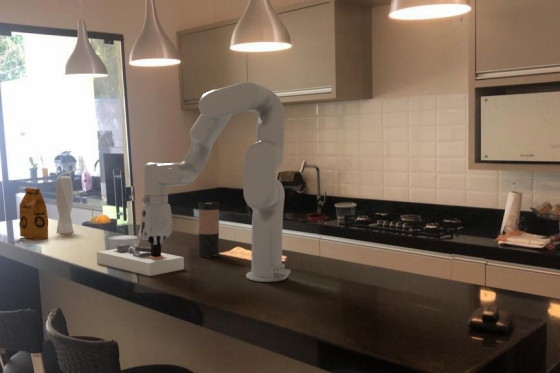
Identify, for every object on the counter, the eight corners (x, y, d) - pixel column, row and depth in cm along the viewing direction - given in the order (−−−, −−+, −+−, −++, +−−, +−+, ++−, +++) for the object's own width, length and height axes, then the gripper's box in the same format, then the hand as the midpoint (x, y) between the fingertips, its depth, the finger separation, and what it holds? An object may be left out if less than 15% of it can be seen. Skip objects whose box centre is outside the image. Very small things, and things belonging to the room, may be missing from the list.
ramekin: (105, 249, 226) (105, 236, 225) (134, 247, 231) (134, 234, 230) (111, 254, 216) (111, 240, 215) (141, 252, 221) (141, 238, 220)
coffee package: (28, 241, 241) (28, 189, 240) (17, 237, 250) (16, 187, 249) (52, 238, 249) (51, 188, 247) (39, 235, 257) (39, 186, 256)
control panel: (183, 269, 190) (183, 251, 190) (149, 275, 179) (149, 257, 179) (130, 257, 209) (130, 241, 208) (96, 263, 198) (96, 246, 197)
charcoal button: (132, 253, 200) (132, 244, 200) (122, 255, 196) (121, 246, 196) (125, 252, 203) (125, 243, 202) (114, 254, 199) (114, 244, 199)
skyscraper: (64, 231, 272) (63, 172, 270) (77, 231, 270) (77, 172, 268) (52, 233, 264) (52, 172, 262) (66, 234, 262) (65, 173, 260)
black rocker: (153, 252, 193) (154, 248, 193) (141, 251, 189) (141, 247, 189) (148, 251, 195) (148, 247, 195) (135, 250, 191) (136, 246, 191)
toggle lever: (138, 254, 195) (150, 221, 199) (132, 252, 194) (144, 218, 197) (133, 253, 197) (145, 220, 200) (128, 251, 195) (140, 218, 198)
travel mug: (215, 258, 210) (215, 203, 209) (195, 257, 211) (195, 203, 210) (221, 254, 217) (221, 201, 216) (202, 253, 219) (202, 201, 218)
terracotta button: (166, 265, 188) (166, 256, 188) (155, 267, 185) (155, 257, 185) (157, 263, 191) (157, 254, 191) (146, 265, 188) (146, 256, 188)
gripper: (144, 202, 179) (144, 261, 180) (181, 200, 190) (181, 254, 191) (129, 201, 183) (129, 257, 185) (166, 198, 195) (166, 251, 196)
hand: (155, 256), depth 188 cm, fingers closed
